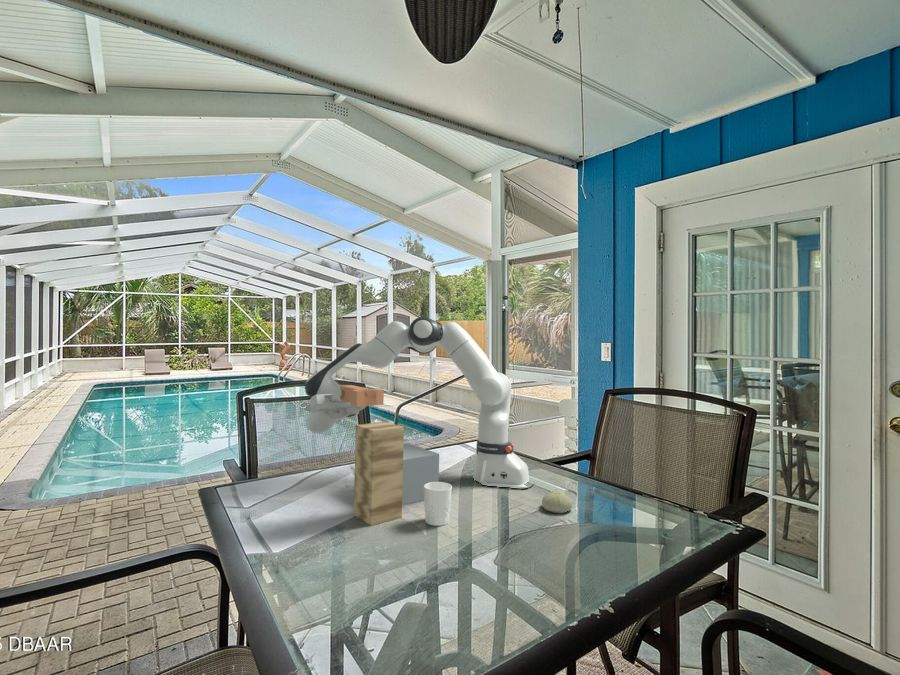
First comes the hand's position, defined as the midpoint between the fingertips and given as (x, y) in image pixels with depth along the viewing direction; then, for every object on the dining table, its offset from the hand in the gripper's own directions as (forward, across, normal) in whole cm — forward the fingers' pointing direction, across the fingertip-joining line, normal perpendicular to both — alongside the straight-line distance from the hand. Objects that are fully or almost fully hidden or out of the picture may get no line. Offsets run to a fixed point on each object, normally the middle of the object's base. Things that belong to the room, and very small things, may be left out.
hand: (350, 391), depth 151 cm
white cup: (+10, +12, +45) cm, 48 cm away
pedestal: (-1, 0, +38) cm, 39 cm away
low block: (-11, +17, +32) cm, 38 cm away
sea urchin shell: (+22, +47, +52) cm, 74 cm away
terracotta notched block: (+3, 0, +5) cm, 6 cm away
